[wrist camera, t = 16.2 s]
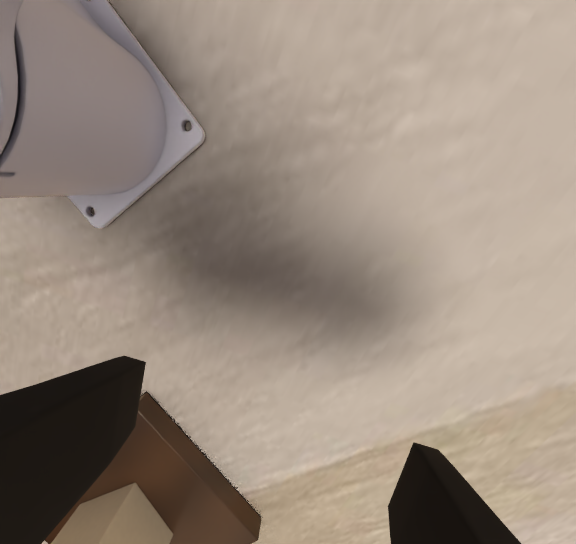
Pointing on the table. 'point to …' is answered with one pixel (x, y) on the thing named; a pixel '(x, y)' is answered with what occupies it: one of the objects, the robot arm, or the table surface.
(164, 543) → the carton
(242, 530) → the board
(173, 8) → the table surface
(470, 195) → the table surface
